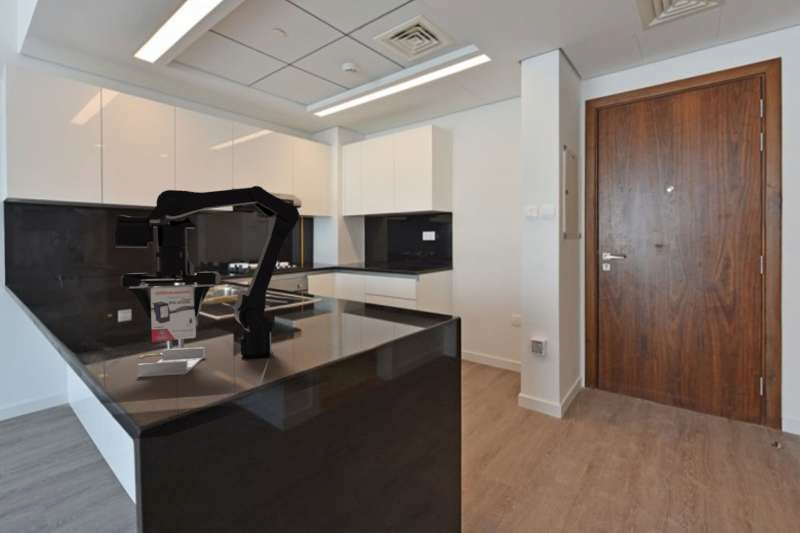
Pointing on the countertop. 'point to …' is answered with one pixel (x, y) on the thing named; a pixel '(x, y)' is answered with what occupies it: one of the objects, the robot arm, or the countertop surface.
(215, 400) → the countertop surface
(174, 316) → the ink box
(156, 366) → the socket
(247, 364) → the countertop surface
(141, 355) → the key
